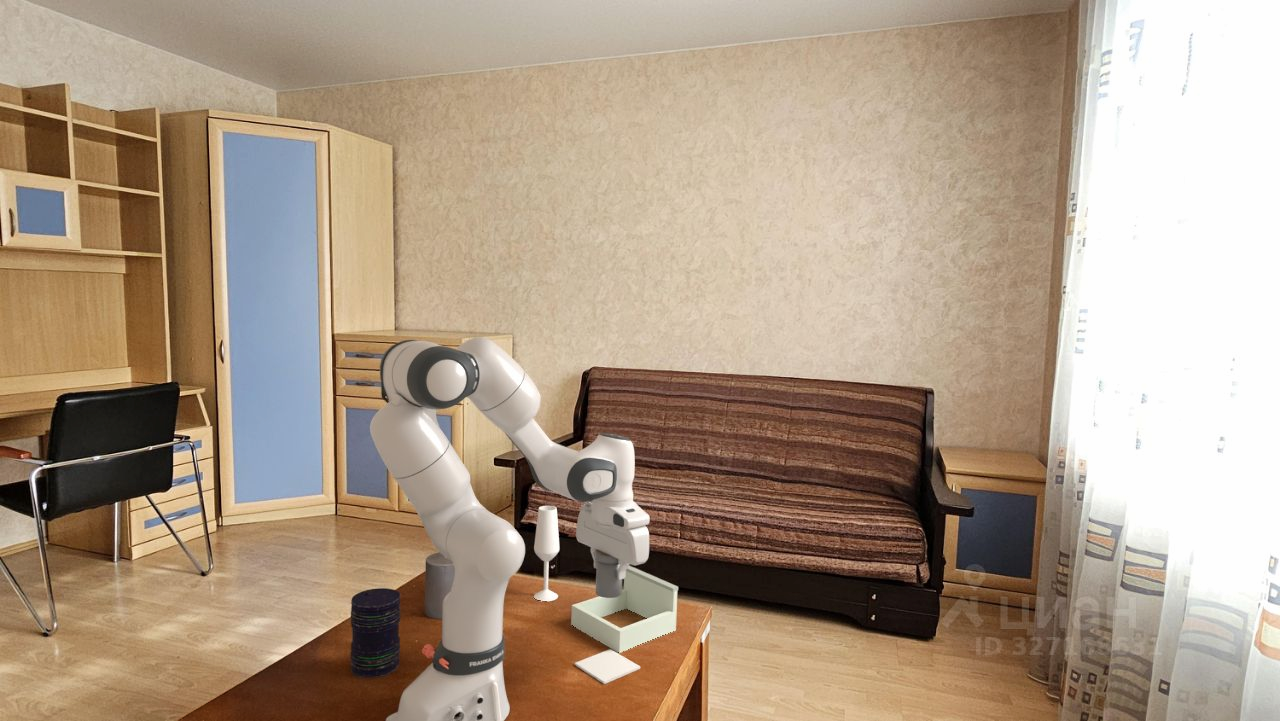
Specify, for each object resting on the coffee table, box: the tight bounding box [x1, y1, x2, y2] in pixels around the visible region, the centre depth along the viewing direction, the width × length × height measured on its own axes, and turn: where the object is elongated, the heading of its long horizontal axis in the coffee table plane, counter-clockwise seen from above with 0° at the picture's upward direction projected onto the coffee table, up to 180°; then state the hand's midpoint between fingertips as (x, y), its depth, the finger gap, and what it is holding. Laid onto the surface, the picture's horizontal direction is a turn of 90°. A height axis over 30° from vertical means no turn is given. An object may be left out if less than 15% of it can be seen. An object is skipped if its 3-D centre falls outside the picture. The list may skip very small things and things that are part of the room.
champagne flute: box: [533, 505, 561, 602], centre depth 187 cm, size 7×7×24 cm
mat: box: [574, 648, 641, 685], centre depth 152 cm, size 10×10×1 cm
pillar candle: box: [424, 551, 455, 620], centre depth 176 cm, size 10×10×15 cm
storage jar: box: [349, 587, 401, 679], centre depth 148 cm, size 10×10×15 cm
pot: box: [595, 550, 623, 598], centre depth 151 cm, size 6×6×9 cm
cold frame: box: [570, 565, 679, 654], centre depth 170 cm, size 18×18×11 cm
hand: (609, 573), depth 150 cm, fingers closed on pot, 6 cm apart
